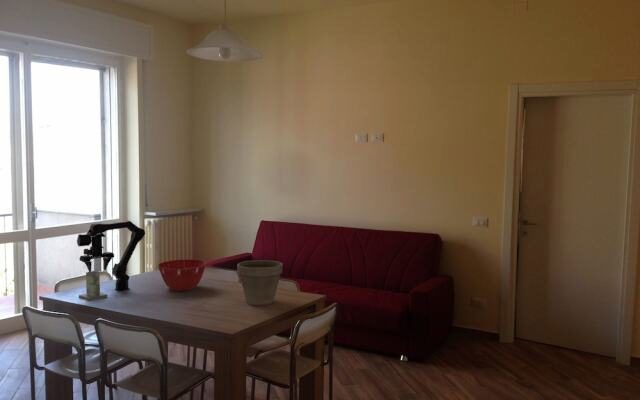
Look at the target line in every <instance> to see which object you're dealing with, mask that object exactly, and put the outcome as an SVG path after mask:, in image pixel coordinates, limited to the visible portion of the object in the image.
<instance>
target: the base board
mask: <svg viewBox="0 0 640 400" xmlns="http://www.w3.org/2000/svg"><path fill="white" fill-rule="evenodd" d="M105 297H106V298H108V294H107V293H104V292H101V291H100V294H99V295H96V296H88V295H87V293H82V294H78V298H79V299H81V298H82V299H81V300H84V299H85V300H86V301H87V300H88V302H91V300H92V301H96V300H100V299H104V298H105ZM85 300H84V301H85Z"/></svg>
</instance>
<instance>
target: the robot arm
mask: <svg viewBox="0 0 640 400" xmlns="http://www.w3.org/2000/svg"><path fill="white" fill-rule="evenodd" d="M125 228H127V230H128V231H130V233H131V234H130V239H129V242H128V244H127V246H126V249H125V251H124V252H123V254H122V257H121V258H120V261H119V262H118V263H114V266H113V267H112V269H111V270H112V271H111V274H112V275H113V276H114V277H115V279H116V280H115V281H116V282H115V288H114V290H115V291H119V292H122V291H123V292H124V291H128V290H130V289H131V288H130V287H129V280H130V276H129V275H128V274H127V270H128V264H129V262H130V260H131V257H132V255H133V253H134V251H135V250H136V248H137V245H138V244H139V243H140V241H142V240H143V238H144V236H145V234H146V231H145V229H143V228H141V227H139V226H137V225H136V224H135V223H133V222H132V221H131V220H124V221H116V222H110V223H102V222H94V223H91V224H90V227H89V229H88V231H87V232H86V234H85V233H84V234H81V233H80V234H78V235H77V240H76V244H77V247H87V246H90V245H91V246H90V248H84V249H83V255H80V257H79V261H80V262H82V263H84V264H85V266H86V267H87V270H88V272H91V271H92V264H93V263H92V260H94V259H101V258H102V260H103V270H104V271H106V270H107V268H108V266H109V263H111V262H110V261H111V260H113V258H114V259H115V253H114V252H110V251H105V252H103V249H104V246H103V238H106V236H107V235H106V234H104V233H105V232H107V231H113V230H119V229H125Z"/></svg>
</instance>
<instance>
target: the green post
mask: <svg viewBox="0 0 640 400" xmlns="http://www.w3.org/2000/svg"><path fill="white" fill-rule="evenodd" d="M100 274H101V273H100V271H96V270H91V272H89V271H86V272H85V284H86V286H85V287H86V292H85V293H86V294H87V295H88V296H96V295H99V294H100V292H101V279H100V278H101V277H100V276H101V275H100Z"/></svg>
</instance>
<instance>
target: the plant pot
mask: <svg viewBox="0 0 640 400" xmlns="http://www.w3.org/2000/svg"><path fill="white" fill-rule="evenodd" d="M236 266H237V269H236V270H237V274H238V275H239V278H240V282H241V286H242V289H243V294H244V297H245V302H246V304H248V305H251V306H269V305H271V304H273V303H274V301H275V297H276V293H277V289H278V285H279V282H280V279H281V274H282V273H283V266H284V265H283V262H280V261H276V260H267V259H265V260H261V259H260V260H259V259H258V260H257V259H256V260H246V261H242V262H239V263H237V265H236Z"/></svg>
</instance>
